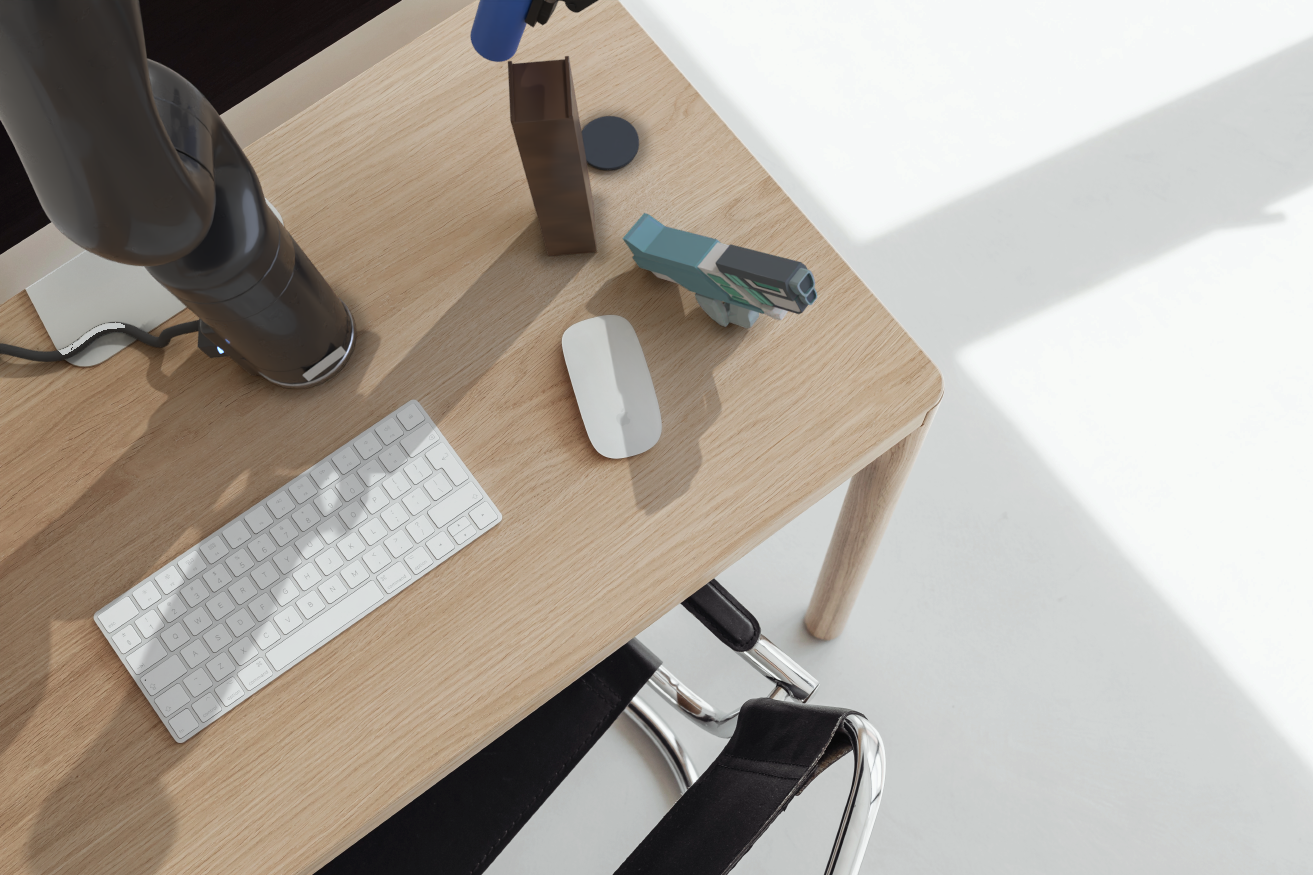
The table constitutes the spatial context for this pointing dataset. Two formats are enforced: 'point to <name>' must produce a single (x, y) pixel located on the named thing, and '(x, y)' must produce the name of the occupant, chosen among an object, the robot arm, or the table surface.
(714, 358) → the table surface
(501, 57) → the tube
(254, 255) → the robot arm
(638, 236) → the toy gun
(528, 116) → the brown tall block
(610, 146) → the mat
